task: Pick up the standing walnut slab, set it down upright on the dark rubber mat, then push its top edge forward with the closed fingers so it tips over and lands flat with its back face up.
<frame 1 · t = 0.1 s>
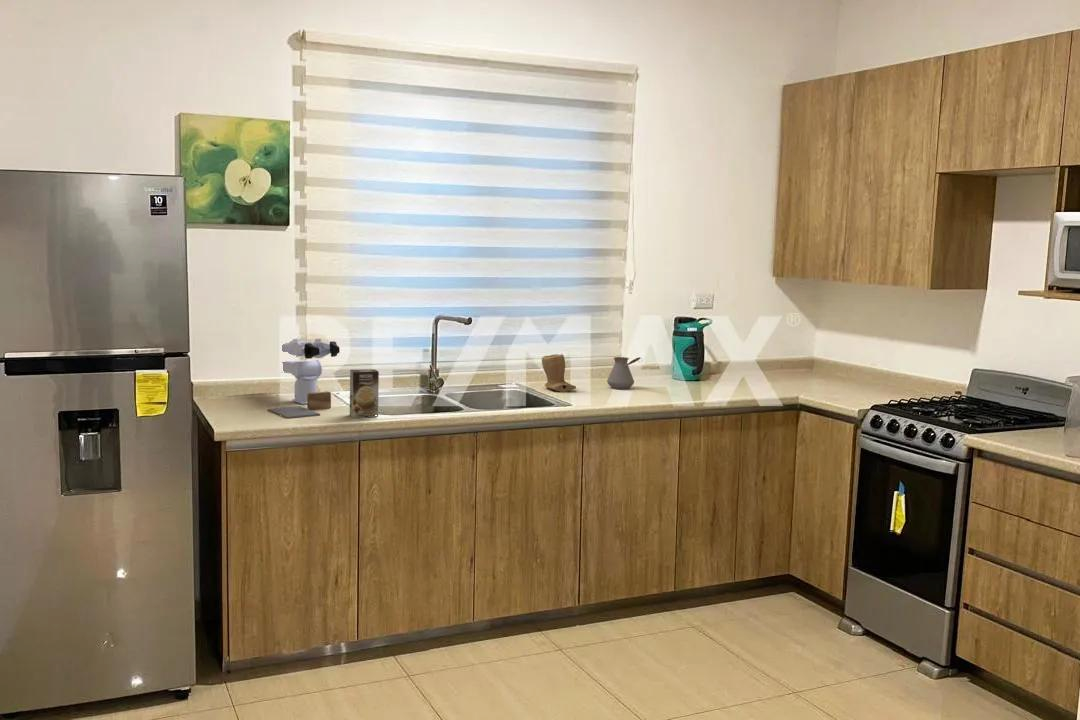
hand: (328, 350, 358), 22 cm above the counter, tool horizontal, fingers open, 7 cm apart
coffee pot: (626, 390, 421), on the counter
brown suede boot: (556, 390, 417), on the counter
slab: (319, 409, 363), on the counter
mat: (293, 412, 354), on the counter
coffee box: (364, 416, 352), on the counter
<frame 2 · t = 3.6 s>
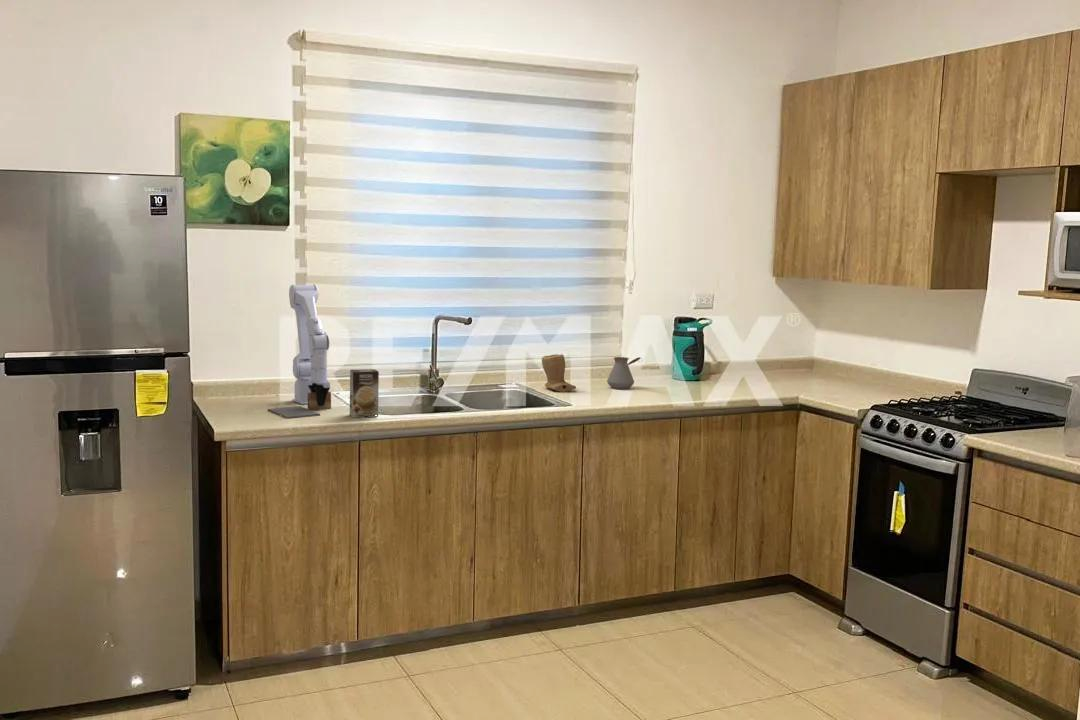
hand: (319, 404, 363), 1 cm above the counter, tool pointing down, fingers closed on slab, 3 cm apart
slab: (319, 408, 363), on the counter, touching gripper
everything else where it was.
when the fingers open (3 cm above the counter, at t = 6.7 s): slab stays where it is, resting on mat.
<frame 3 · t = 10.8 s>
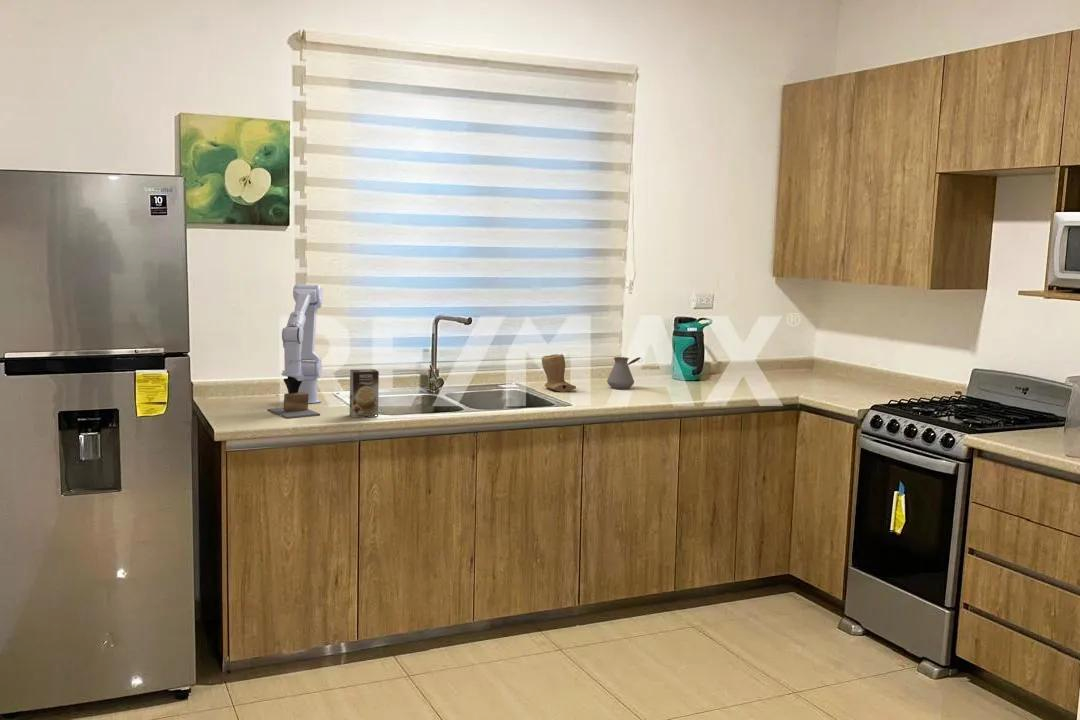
hand: (293, 398, 356), 5 cm above the counter, tool pointing down, fingers closed
slab: (295, 409, 355), point 1 cm above the counter, tilted 9°, touching mat
everything else where it was.
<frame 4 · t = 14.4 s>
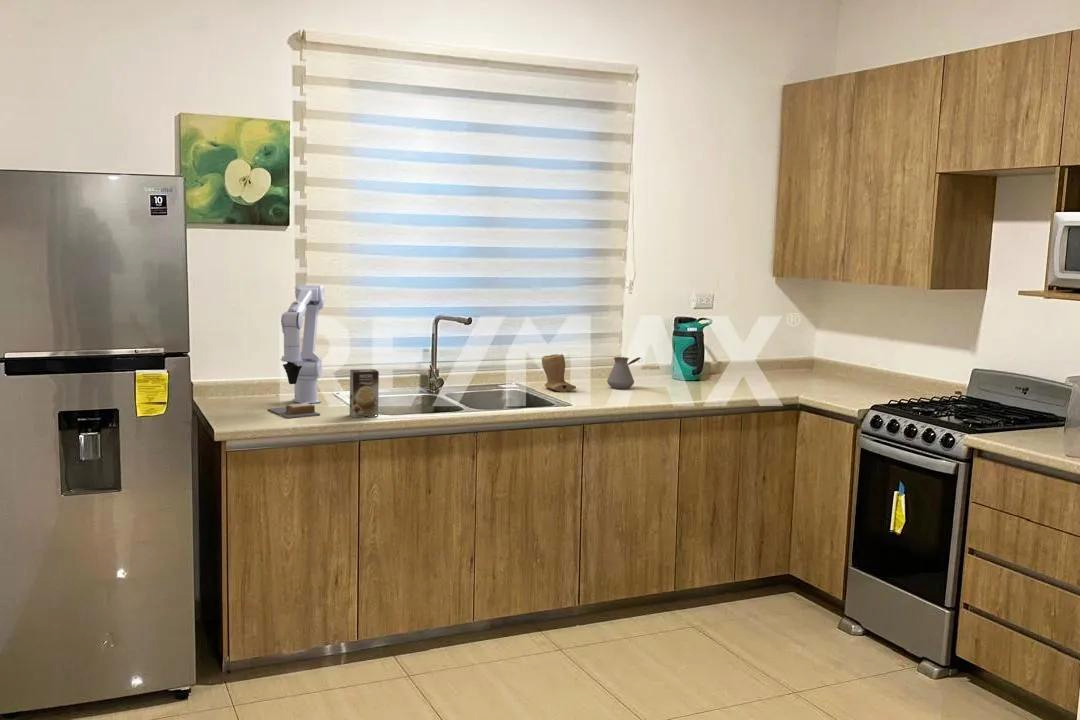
hand: (292, 383, 356), 10 cm above the counter, tool pointing down, fingers closed
slab: (297, 407, 354), point 2 cm above the counter, tilted 90°, touching mat
everything else where it was.
at the end: slab tilted 90°; slab 1.2 cm from the mat (horizontally); the gripper is holding nothing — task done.
